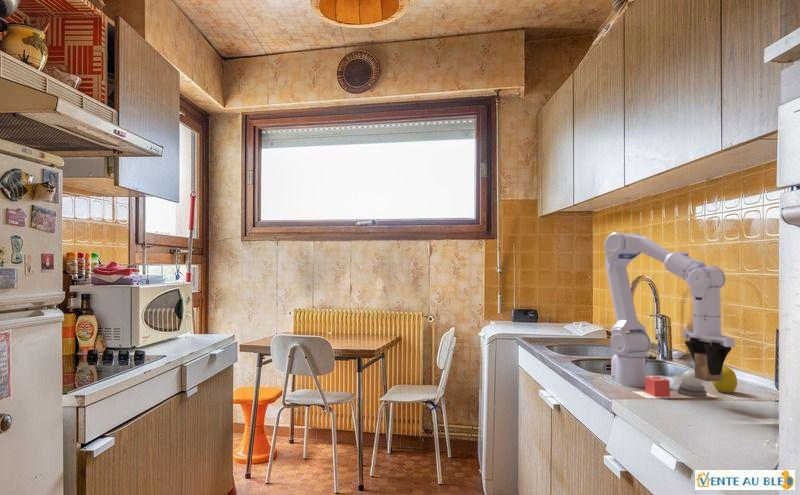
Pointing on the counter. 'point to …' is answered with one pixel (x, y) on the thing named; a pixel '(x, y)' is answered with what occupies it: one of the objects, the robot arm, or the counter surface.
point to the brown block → (705, 369)
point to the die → (657, 386)
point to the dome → (691, 382)
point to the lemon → (726, 381)
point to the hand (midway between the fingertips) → (708, 372)
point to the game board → (677, 394)
